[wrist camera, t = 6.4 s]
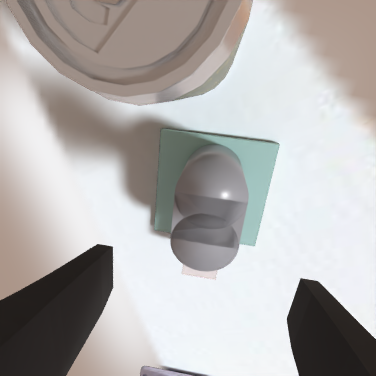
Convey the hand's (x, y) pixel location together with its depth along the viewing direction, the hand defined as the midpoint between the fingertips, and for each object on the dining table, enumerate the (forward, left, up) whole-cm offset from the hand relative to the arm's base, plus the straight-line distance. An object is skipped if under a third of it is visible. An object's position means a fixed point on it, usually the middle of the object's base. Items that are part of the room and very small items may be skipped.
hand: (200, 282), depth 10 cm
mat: (0, 0, -10) cm, 10 cm away
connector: (0, 0, -9) cm, 9 cm away
